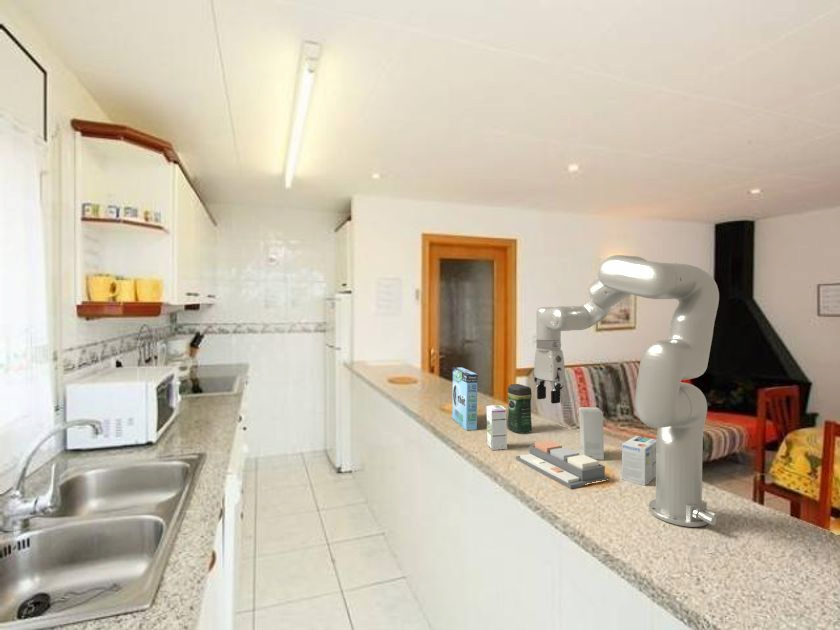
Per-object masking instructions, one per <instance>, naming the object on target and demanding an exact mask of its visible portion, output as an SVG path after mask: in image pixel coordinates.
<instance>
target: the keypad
mask: <svg viewBox="0 0 840 630" xmlns="http://www.w3.org/2000/svg"><path fill="white" fill-rule="evenodd" d="M515 460H516V461H518V462H520V463H522V464H524V465H526V466H527V467H529V468H530V469H532V470H535V471H537V472H539V473H540V474H542V475H543V476H546V477H548V478H550V479H552V480H553V481H555V482H557V483H559V484H561V485H562V486H564V487H567V489H570V490H572V489H577V488H581V487H585V486H584V485H585V484H587V483H592V482H596V481H602V480H607V479H609V480H610V477H609V476H607V475H606V466H605V465H603V464H600V463H599V465H598V466H597V467H592V468H587V469H580V468H578V467H576V466H574V465H572V464H570V463H568V460H565V461H563V460H561V459H559V458H557V457H555V456H552V455H550V452H549V453H546V452H544V451H542V450H539V449H537V448H535V444H534V445H530V446H529V453H527V454H520V455H518V456H517V455H516V456H515Z"/></svg>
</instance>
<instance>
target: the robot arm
mask: <svg viewBox="0 0 840 630" xmlns="http://www.w3.org/2000/svg"><path fill="white" fill-rule="evenodd" d="M588 294H589V297H590V298H591V299H589V300H588V301H587V302H585V303H583V304H581V305H578V306H577V305H567V306H565V305H564V306H562V305H561V306H544V307H543V306H542V307H541V306H540V307H538V308H537V310H536V315H535V316H536V318H535V319H536V335H535V338H536V349H535V353H534V365H533V366H534V367H533V372H532V373H531V376H532V378H533V379H534V382H535V386H536V399H537V400H545V399H546V398H547V386H546V382H550V385H551V389H552V390H551V391H550V402H551V404H559V403H561V391H562V389H563V387H564V386H565V384H566V383H567V381H568V380H567V379H566V370H565V369H566V368H565V358H564V353H563V350H561V349H562V348H561V347H562V332H569V331H583V330H587V329H589V328H591V327H593V326H594V325H596V324H598V323H599V322H602V321H603V320H604V319H606V317H607V316H608V315H609V314H610V312H611V310H612V307H614V306H615V305H617V304H618V303H620V302H622V301H623V300H624V299H626V298H627V297H629V296H631V295H633V296H637V297H641V298H645V299H651V300H652V299H653V300H677V301H678V304H677V307H676V308H675V310H674V312H673V314H672V317H671V320H670V321H671V322H670V329H669V333H668V338H667V339H661V340H660V339H659V340H657V341H653V342H652V343H650V344H649V345H648V346H647V347H646V348H645V349H644V351H643V353H642V354H641V358H640V361H639V367H638V374H637V375H638V376H637V381H636V386H635V387H636V388H635V393H634V394H635V395H634V408H635V412H636V415H637V417H638V419H639V420H640V421H641V422H642V423H643V424H645V426H647V427H650V428H651V429H652V428H653V429H657V431H656V432H657V433H656V437H655V438H656V477H655V498H654V499H652V500H651V501H649V503H648V511H649V512H650V513H651V514H652V515H653V516H655V517H656V518H658V519H659V520H661V521H664V522H665V523H666V522H667V523H669V524H673V525H676V526H681V527H686V528H687V527H690V528H699V527H704V526H706V525H711V526H715V525H716V523H717V520H718V516H719V515H718V513H716V512H714V511H712V510H709V509H708V507H707V506H708V505H707V501H705V500H703V443H704V441H703V439H704V430H705V424H706V419H707V414H708V403H707V399H706V396H705V395H704V393H703V392H702V390H701V389H700V388H699V387H697V386H695V385H694V384H691V383H688V382H682V381H686V380H687V381H688V380H692V379H696V378H699V377H700V376H702V375H704V373H705V372H706V370H708V369H707V368H708V363H709V358H710V352H711V346H712V341H713V337H714V327H715V321H716V317H717V313H718V312H717V311H718V308H719V301H720V291H719V288H718V284H717V282H716V281H715V279H714V278H713V277H712V275H710V274H709V272H707V271H706V270H704V269H702V268H700V267H698V266H695V265H693V264H692V265H691V264H687V263H676V262H675V263H673V262H672V263H671V262H657V261H650V260H647V259H645V258H644V257H640V256H635V255H634V256H633V255H623V254H622V255H621V254H616V255H612V256H609V257H607V258H605V259H603V261H602V262H601V264H600V265H599V267H598V271H597V279H596V280H593V282H592V283H590V285H589V287H588Z"/></svg>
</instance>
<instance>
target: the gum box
mask: <svg viewBox="0 0 840 630" xmlns="http://www.w3.org/2000/svg"><path fill="white" fill-rule="evenodd" d="M478 375H479V374H477V373H476V372H473V371H471V370H469V369H466V368H464V367H462V366H461V367H452V398H451V399H452V410H451V411H452V412H451V414H452V415H451V418H453V419H452V420H453V421H455V422H456V424H458V425H459V426H460V425H461V426H460V427H462V428H463V429H464V430H465V431H466V430H473V431H477V430H478Z"/></svg>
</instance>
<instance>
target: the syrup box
mask: <svg viewBox="0 0 840 630" xmlns="http://www.w3.org/2000/svg"><path fill="white" fill-rule="evenodd" d="M507 429H508V420H507V408H505V407H504V406H503V405H501V404H493V405H486V445H488V446H489V447H490V448H491V449H492V450H491V449H490V450H491V451H502V450H501V449H505V450H507V449H508V447H507V446H508V437H507V436H508V435H507V434H508V433H507V432H508V431H507ZM488 446H487V447H488ZM498 449H500V450H498Z"/></svg>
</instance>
